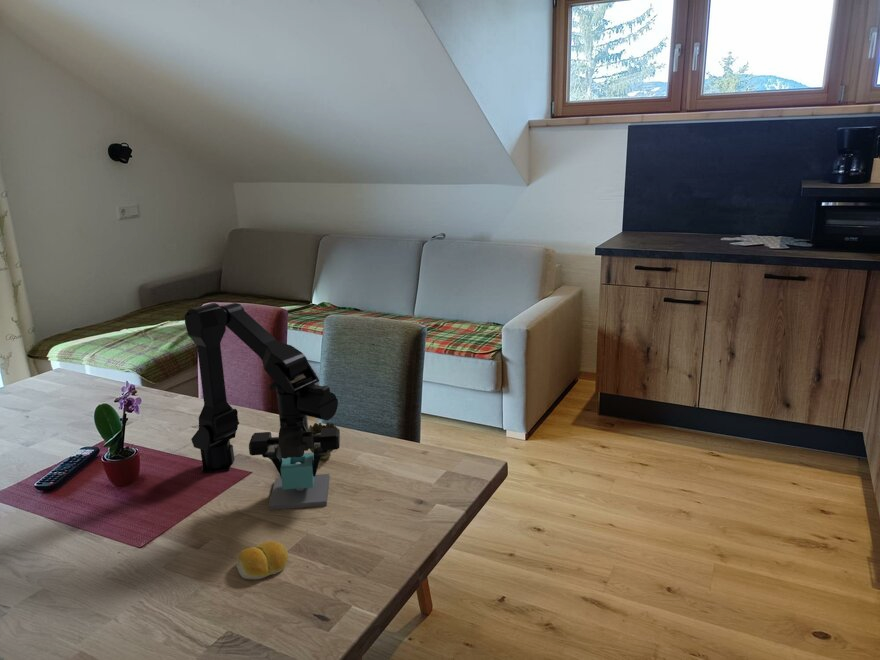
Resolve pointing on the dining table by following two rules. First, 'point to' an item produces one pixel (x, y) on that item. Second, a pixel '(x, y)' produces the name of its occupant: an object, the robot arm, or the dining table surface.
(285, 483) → the teal block with hole
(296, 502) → the post stand
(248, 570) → the bread roll
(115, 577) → the dining table surface
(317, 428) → the cup
